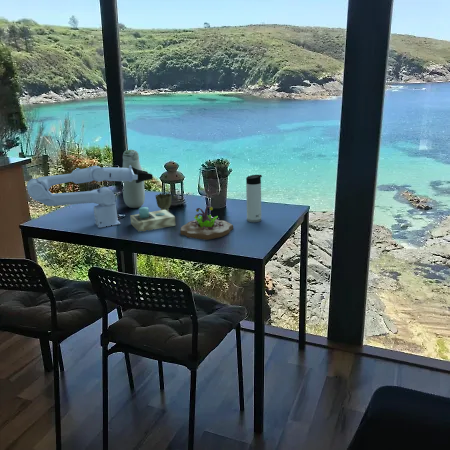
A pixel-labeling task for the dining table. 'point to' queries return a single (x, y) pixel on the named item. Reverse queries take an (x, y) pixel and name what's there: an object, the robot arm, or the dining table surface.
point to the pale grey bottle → (133, 190)
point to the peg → (144, 212)
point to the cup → (163, 201)
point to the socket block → (153, 220)
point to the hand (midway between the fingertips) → (149, 175)
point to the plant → (206, 226)
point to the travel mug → (253, 198)
